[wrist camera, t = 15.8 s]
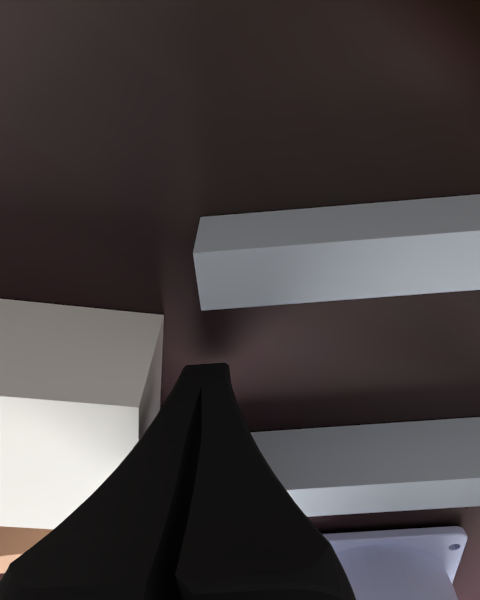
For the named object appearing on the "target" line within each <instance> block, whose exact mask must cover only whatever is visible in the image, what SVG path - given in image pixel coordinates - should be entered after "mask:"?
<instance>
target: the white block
mask: <svg viewBox="0 0 480 600" xmlns="http://www.w3.org/2000/svg"><path fill="white" fill-rule="evenodd" d="M163 328H164V315H159V314H149V313H139V312H129V311H119V310H109V309H99V308H89V307H79V306H69V305H59V304H49V303H39V302H29V301H19V300H9V299H0V526H4V527H21V528H38V529H55V528H56V527H57V526H58V525H59V524H60V523H62V522H63V521H64V520H65V519H66V518H67V517H68V516H69V515H70V514H71V513H72V512H73V511H75V510H76V509H77V508H78V507H79V506H80V505H81V504H82V503H83V502H84V501H85V500H86V499H88V498H89V497H90V496H91V495H92V494H93V493H94V492H95V491H96V490H97V489H98V488H99V486H100V485H101V484H102V483H103V482H104V481H105V480H106V479H107V478H108V477H109V476H110V475H111V474H112V472H113V471H114V470H115V469H116V468H117V467H118V466H119V465H120V463H121V462H122V461H123V460H124V459H125V457H126V456H127V455H128V454H129V453H130V451H131V450H132V449H133V448H134V446H135V445H136V444H137V442H138V441H139V440H140V438H141V437H142V436H143V434H144V433H145V431H146V430H147V429H148V427H149V426H150V424H151V423H152V422H153V420H154V419H155V417H156V416H157V414H158V412H159V411H160V397H161V374H162V351H163Z"/></svg>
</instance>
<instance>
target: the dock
mask: <svg viewBox="0 0 480 600" xmlns="http://www.w3.org/2000/svg"><path fill="white" fill-rule="evenodd" d="M193 258H194V265H195V271H196V278H197V285H198V292H199V298H200V305H201V311H203V310H216V309H229V308H242V307H256V306H269V305H282V304H296V303H309V302H322V301H335V300H349V299H362V298H375V297H388V296H402V295H415V294H428V293H441V292H455V291H468V290H480V194H477V195H464V196H452V197H440V198H428V199H415V200H403V201H391V202H379V203H366V204H354V205H342V206H330V207H317V208H305V209H293V210H281V211H268V212H256V213H244V214H231V215H219V216H207V217H200V222H199V227H198V231H197V236H196V241H195V245H194V250H193ZM250 433H251V435H252V437H253V439H254V441H255V442H256V444H257V446H258V448H259V450H260V451H261V453H262V455H263V456H264V458H265V460H266V461H267V463H268V464H269V466H270V468H271V469H272V471H273V472H274V474H275V475H276V477H277V478H278V480H279V481H280V482H281V484H282V485H283V486H284V488H285V489H286V491H287V492H288V493H289V495H290V496H291V497H292V499H293V500H294V501H295V503H296V504H297V505H298V506H299V508H300V509H301V510H302V511H303V513H304V514H305V515H306V516H307V517H310V516H326V515H342V514H358V513H375V512H391V511H407V510H423V509H440V508H456V507H472V506H480V417H472V418H457V419H442V420H427V421H412V422H397V423H383V424H368V425H353V426H338V427H323V428H308V429H293V430H279V431H264V432H250Z"/></svg>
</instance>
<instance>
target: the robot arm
mask: <svg viewBox="0 0 480 600" xmlns="http://www.w3.org/2000/svg"><path fill="white" fill-rule="evenodd" d="M466 542H467V535H466V533H465V531H464V529H463V528H461V527H459V526H446V527H429V528H413V529H396V530H380V531H363V532H347V533H330V534H322V533H321V532H320V531H319V530H318V529H317V528H316V527H315V526H314V524H313V523H312V522H311V521H310V520H309V519H308V518H307V516H306V515H305V514H304V513H303V511H302V510H301V509H300V508H299V506H298V505H297V504H296V503H295V501H294V500H293V499H292V497H291V496H290V495H289V493H288V492H287V491H286V489H285V488H284V486H283V485H282V484H281V482H280V481H279V480H278V478H277V477H276V475H275V474H274V472H273V471H272V469H271V468H270V466H269V464H268V463H267V461H266V460H265V458H264V456H263V455H262V453H261V451H260V450H259V448H258V446H257V444H256V442H255V441H254V439H253V437H252V435H251V433H250V431H249V429H248V427H247V425H246V423H245V420H244V418H243V416H242V413H241V411H240V408H239V406H238V403H237V401H236V398H235V395H234V392H233V389H232V385H231V379H230V370H229V365H227V364H226V363H214V364H200V365H186V366H185V367H184V368H183V370H182V372H181V374H180V376H179V378H178V380H177V382H176V384H175V386H174V387H173V389H172V391H171V393H170V394H169V396H168V398H167V400H166V401H165V403H164V404H163V406H162V408H161V409H160V411H159V412H158V414H157V416H156V417H155V419H154V420H153V422H152V423H151V424H150V426H149V427H148V429H147V430H146V431H145V433H144V434H143V436H142V437H141V438H140V440H139V441H138V442H137V444H136V445H135V446H134V448H133V449H132V450H131V451H130V453H129V454H128V455H127V456H126V457H125V459H124V460H123V461H122V462H121V463H120V465H119V466H118V467H117V468H116V469H115V470H114V471H113V472H112V474H111V475H110V476H109V477H108V478H107V479H106V480H105V481H104V482H103V483H102V484H101V485H100V486H99V488H98V489H97V490H96V491H95V492H94V493H93V494H92V495H91V496H90V497H89V498H88V499H86V500H85V501H84V502H83V503H82V504H81V505H80V506H79V507H78V508H77V509H76V510H75V511H73V512H72V513H71V514H70V515H69V516H68V517H67V518H66V519H65V520H64V521H63V522H62V523H60V524H59V525H58V526H57V527H56V528H55V529H53V530H52V531H51V532H50V533H49V534H47V535H46V536H45V537H44V538H42V539H41V540H40V541H38V542H37V543H36V544H35V545H33V546H32V547H31V548H30V549H28V550H27V551H26V552H25V553H23V554H22V555H21V556H19V557H18V558H17V559H15V560H14V561H13V562H11V563H10V565H9V567H8V569H7V571H6V572H5V574H4V576H3V578H2V579H1V581H0V600H458V598H457V595H456V593H455V591H454V588H453V586H452V583H453V580H454V577H455V574H456V571H457V568H458V565H459V562H460V559H461V556H462V553H463V550H464V548H465V545H466Z"/></svg>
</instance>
